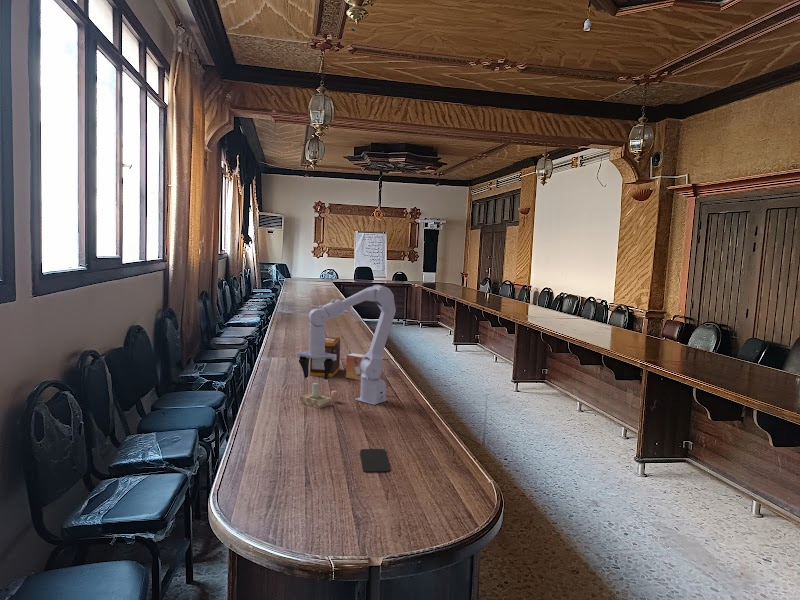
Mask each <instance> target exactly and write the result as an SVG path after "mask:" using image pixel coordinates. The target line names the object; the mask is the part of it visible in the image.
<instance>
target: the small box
mask: <svg viewBox="0 0 800 600" xmlns="http://www.w3.org/2000/svg"><path fill="white" fill-rule="evenodd" d="M365 355H366V354H361V353H355V352H352V353H348V354H346V359H345V360H346V361H345V362H346V363H345V364H346V365H345V366H346V367H345V378H346V379H351V380H356V381H360V382H361V375H362V371H361V370H360V363H361V361H362V360H363V359H364V357H365Z"/></svg>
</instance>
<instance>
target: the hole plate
mask: <svg viewBox="0 0 800 600" xmlns="http://www.w3.org/2000/svg"><path fill="white" fill-rule="evenodd" d="M299 403H301V404H303V405H308V406H310V407H314V408H316V409H322V408H325V407H328V406H331V405H332V402H331V397H328V396H325V395H321V394H319V398H318V399H313V398H312V392H309V393H306V394H303V395H300V396H299Z"/></svg>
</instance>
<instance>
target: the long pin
mask: <svg viewBox="0 0 800 600" xmlns="http://www.w3.org/2000/svg"><path fill="white" fill-rule="evenodd" d="M311 386H312V389H311V390H312V392H311V393H312V398H313V399H318V398H319V395H320V387H321V385H320V383H318V382H313V383H312V384H311Z"/></svg>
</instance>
